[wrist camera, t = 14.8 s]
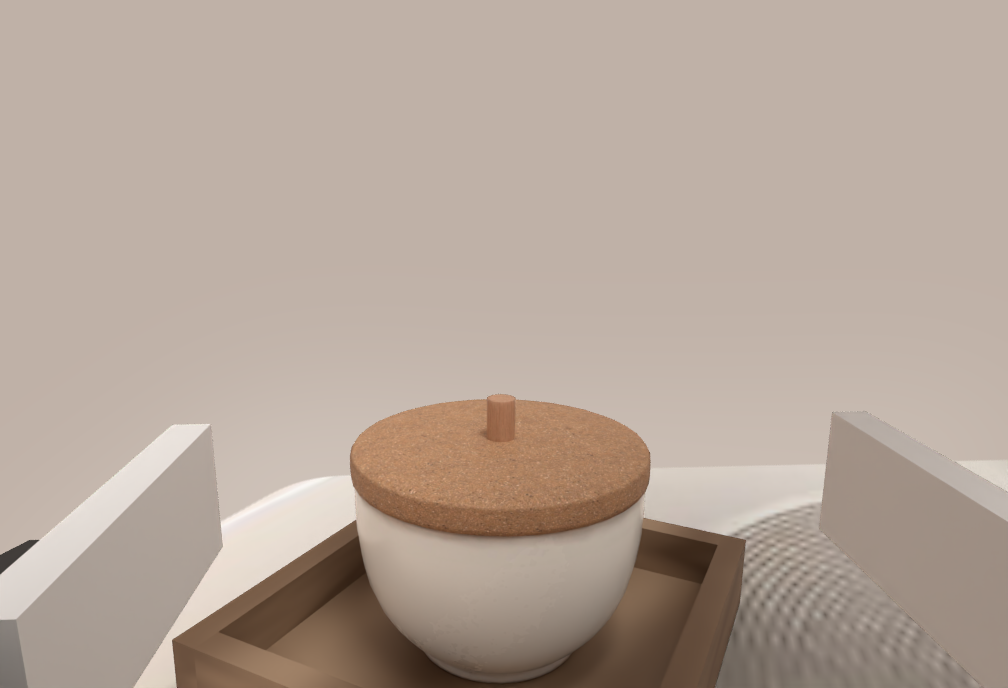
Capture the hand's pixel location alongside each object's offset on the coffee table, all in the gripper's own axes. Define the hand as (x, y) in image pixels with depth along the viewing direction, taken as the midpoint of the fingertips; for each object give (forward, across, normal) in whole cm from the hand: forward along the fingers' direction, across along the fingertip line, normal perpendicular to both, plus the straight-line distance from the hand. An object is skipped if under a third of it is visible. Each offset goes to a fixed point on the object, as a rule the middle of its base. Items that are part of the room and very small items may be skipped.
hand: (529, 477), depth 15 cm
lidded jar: (+10, 0, -11) cm, 15 cm away
